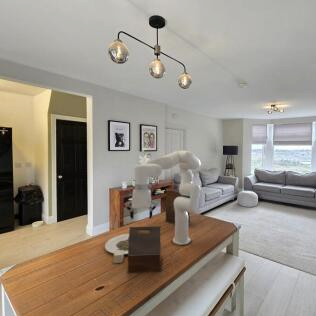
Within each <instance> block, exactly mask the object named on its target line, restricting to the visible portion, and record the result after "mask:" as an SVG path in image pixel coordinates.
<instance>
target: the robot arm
mask: <svg viewBox="0 0 316 316" xmlns="http://www.w3.org/2000/svg"><path fill="white" fill-rule="evenodd" d="M176 165H178V167H179V169H180V172H181V179H180V184H179V186H178V187H179V188H178V190H179V193H180V194H182V195H185V196H190V198H186V197H177V198H176V199H175V200H174V209H175V223H174V237H173V238H172V243H173V244H174V245H178V246H184V245H188V244H190V243H191V237H189V225H188V213H187V212H189V214H194V213H196V212H197V211H198V207H199V203H200V197H201V192H202V191H201V190H202V188H201V185H199V183H197V182H194V173H193V171H198V170H199V169H200V167H201V160H200V159H199V158H198V156H196V155H195V154H194V153H192V152H191V151H189V150H175V151H173V152H170V153H168V154H166V155H163V156H160V157H156V158H153V159H149V160H147V161H145V162H143V163H141V164H135V166H134V189H133V190H132V195H131V200H129V201H127V202H125V203H124V205H125V208H126V210H128V211H129V217H130V220H133V219H134V217H135V216H134V215H135V214H134V209H148V210H149V215H148V216H149V219H150V220H151V219H152V218H153V211H154V210H155V209H156V208H157V206H158V204H159V203H158V202H157V201H155V200H153V199H152V191H151V188H152V184H150V178H158V177H160V176H161V175H162V173H163V170H168V169H169V170H170V169H173V167H175V166H176ZM130 204H131V206H130ZM152 205H153V206H152Z"/></svg>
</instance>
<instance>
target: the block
mask: <svg viewBox="0 0 316 316" xmlns="http://www.w3.org/2000/svg"><path fill="white" fill-rule="evenodd" d="M124 255H125V254H124V251H116V252H115V254H113V264H122V263H123V261H124V257H125V256H124Z"/></svg>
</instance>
